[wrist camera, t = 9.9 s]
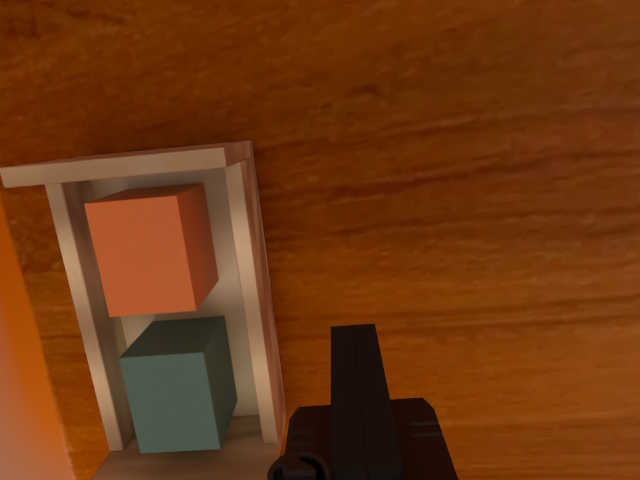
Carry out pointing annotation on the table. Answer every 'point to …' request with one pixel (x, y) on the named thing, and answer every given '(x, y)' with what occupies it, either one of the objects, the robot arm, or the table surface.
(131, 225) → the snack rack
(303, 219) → the table surface
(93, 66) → the table surface
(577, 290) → the table surface
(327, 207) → the table surface
